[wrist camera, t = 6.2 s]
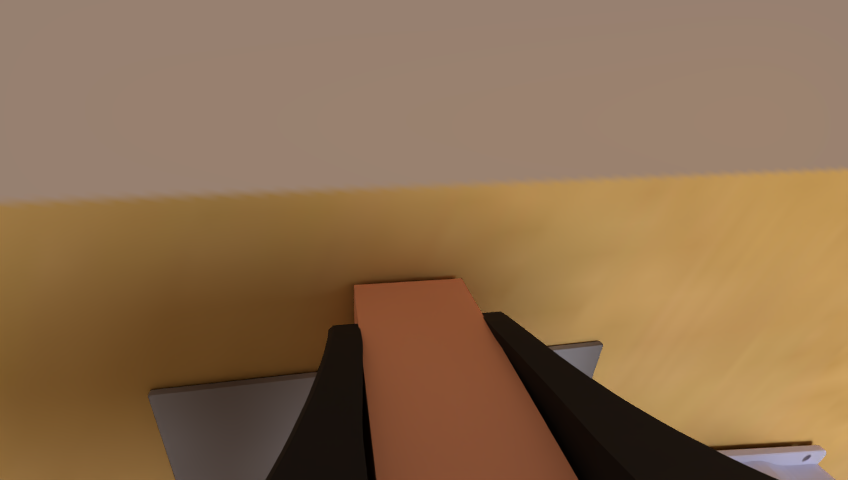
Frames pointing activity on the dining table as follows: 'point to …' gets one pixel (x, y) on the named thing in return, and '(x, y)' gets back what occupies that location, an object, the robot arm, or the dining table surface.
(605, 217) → the dining table surface
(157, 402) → the panel
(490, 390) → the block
